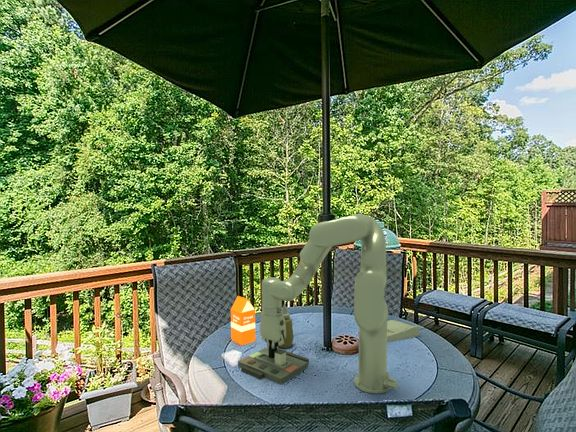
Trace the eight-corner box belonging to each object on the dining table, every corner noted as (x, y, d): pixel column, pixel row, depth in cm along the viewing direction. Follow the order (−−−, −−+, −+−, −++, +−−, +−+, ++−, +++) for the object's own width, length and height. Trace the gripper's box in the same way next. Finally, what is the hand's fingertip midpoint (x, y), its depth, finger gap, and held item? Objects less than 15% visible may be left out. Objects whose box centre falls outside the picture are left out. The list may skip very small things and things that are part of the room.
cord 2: (308, 362, 142) (308, 358, 142) (306, 364, 141) (306, 360, 140) (274, 350, 153) (274, 347, 153) (272, 352, 152) (272, 348, 152)
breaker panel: (307, 367, 138) (307, 360, 138) (281, 384, 126) (281, 376, 125) (265, 352, 152) (265, 345, 152) (238, 366, 139) (237, 359, 139)
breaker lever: (285, 363, 136) (285, 351, 136) (280, 366, 134) (280, 353, 134) (279, 361, 138) (279, 349, 138) (274, 364, 136) (274, 351, 136)
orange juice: (241, 345, 159) (240, 301, 158) (230, 339, 166) (230, 297, 165) (255, 340, 164) (255, 297, 163) (244, 335, 171) (244, 293, 170)
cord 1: (263, 377, 130) (263, 373, 130) (260, 379, 129) (260, 375, 129) (244, 369, 137) (244, 365, 137) (241, 371, 135) (241, 367, 135)
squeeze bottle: (291, 350, 154) (291, 309, 153) (273, 348, 155) (273, 308, 154) (295, 342, 161) (295, 303, 160) (277, 341, 163) (277, 302, 162)
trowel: (363, 344, 160) (363, 332, 160) (356, 331, 176) (356, 320, 176) (425, 343, 161) (425, 331, 161) (412, 330, 177) (412, 319, 176)
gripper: (293, 311, 136) (294, 358, 137) (264, 304, 145) (265, 348, 146) (280, 316, 130) (281, 366, 131) (251, 309, 139) (252, 355, 140)
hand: (273, 356), depth 139 cm, fingers closed
